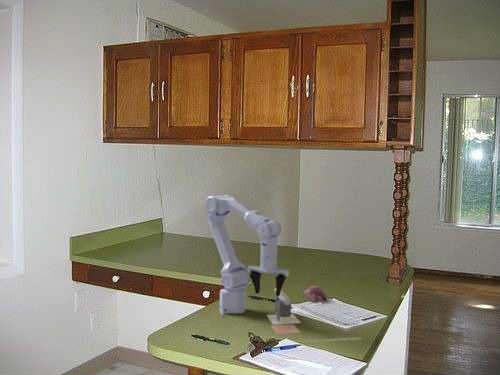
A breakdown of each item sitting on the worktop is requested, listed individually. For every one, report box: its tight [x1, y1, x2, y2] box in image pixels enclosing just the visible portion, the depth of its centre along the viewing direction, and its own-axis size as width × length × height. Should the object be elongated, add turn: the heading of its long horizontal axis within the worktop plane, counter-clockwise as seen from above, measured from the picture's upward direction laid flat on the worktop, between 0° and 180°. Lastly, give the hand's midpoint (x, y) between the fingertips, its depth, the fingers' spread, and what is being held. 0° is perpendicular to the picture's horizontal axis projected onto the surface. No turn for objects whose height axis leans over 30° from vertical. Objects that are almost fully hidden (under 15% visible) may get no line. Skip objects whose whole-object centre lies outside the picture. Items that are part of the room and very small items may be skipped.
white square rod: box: [274, 287, 291, 305], centre depth 185 cm, size 2×14×2 cm, turn 12°
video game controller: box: [303, 285, 328, 304], centre depth 208 cm, size 10×5×7 cm, turn 141°
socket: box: [266, 295, 302, 326], centre depth 185 cm, size 10×14×7 cm
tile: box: [271, 324, 301, 335], centre depth 173 cm, size 8×8×1 cm
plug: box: [277, 300, 292, 321], centre depth 182 cm, size 4×4×6 cm
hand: (267, 294), depth 181 cm, fingers open, 7 cm apart
